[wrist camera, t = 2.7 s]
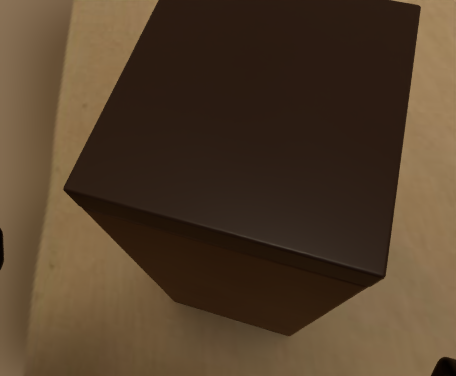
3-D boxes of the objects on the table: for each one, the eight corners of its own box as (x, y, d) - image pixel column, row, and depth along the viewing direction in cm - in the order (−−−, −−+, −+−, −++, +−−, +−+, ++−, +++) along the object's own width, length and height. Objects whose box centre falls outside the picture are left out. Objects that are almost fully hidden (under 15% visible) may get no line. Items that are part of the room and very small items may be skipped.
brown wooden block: (290, 336, 17) (386, 278, 6) (172, 301, 18) (60, 189, 7) (316, 214, 20) (422, 4, 8) (212, 186, 20) (177, -39, 9)
